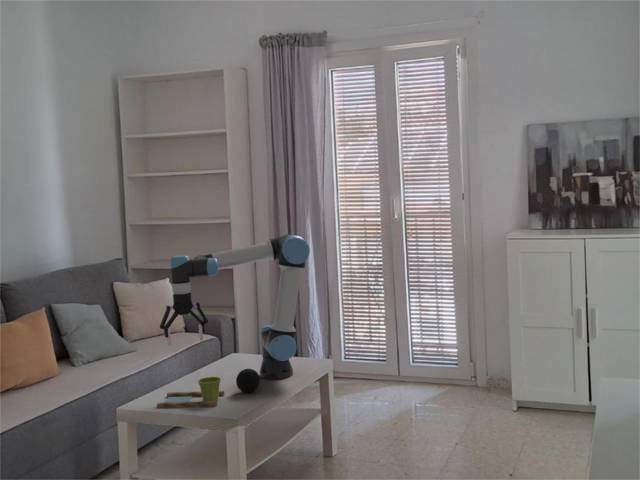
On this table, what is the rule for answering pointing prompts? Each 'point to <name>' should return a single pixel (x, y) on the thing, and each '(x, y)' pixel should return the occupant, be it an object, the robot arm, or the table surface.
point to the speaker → (248, 380)
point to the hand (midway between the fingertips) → (185, 342)
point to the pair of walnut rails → (187, 404)
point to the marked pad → (178, 399)
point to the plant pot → (210, 388)
